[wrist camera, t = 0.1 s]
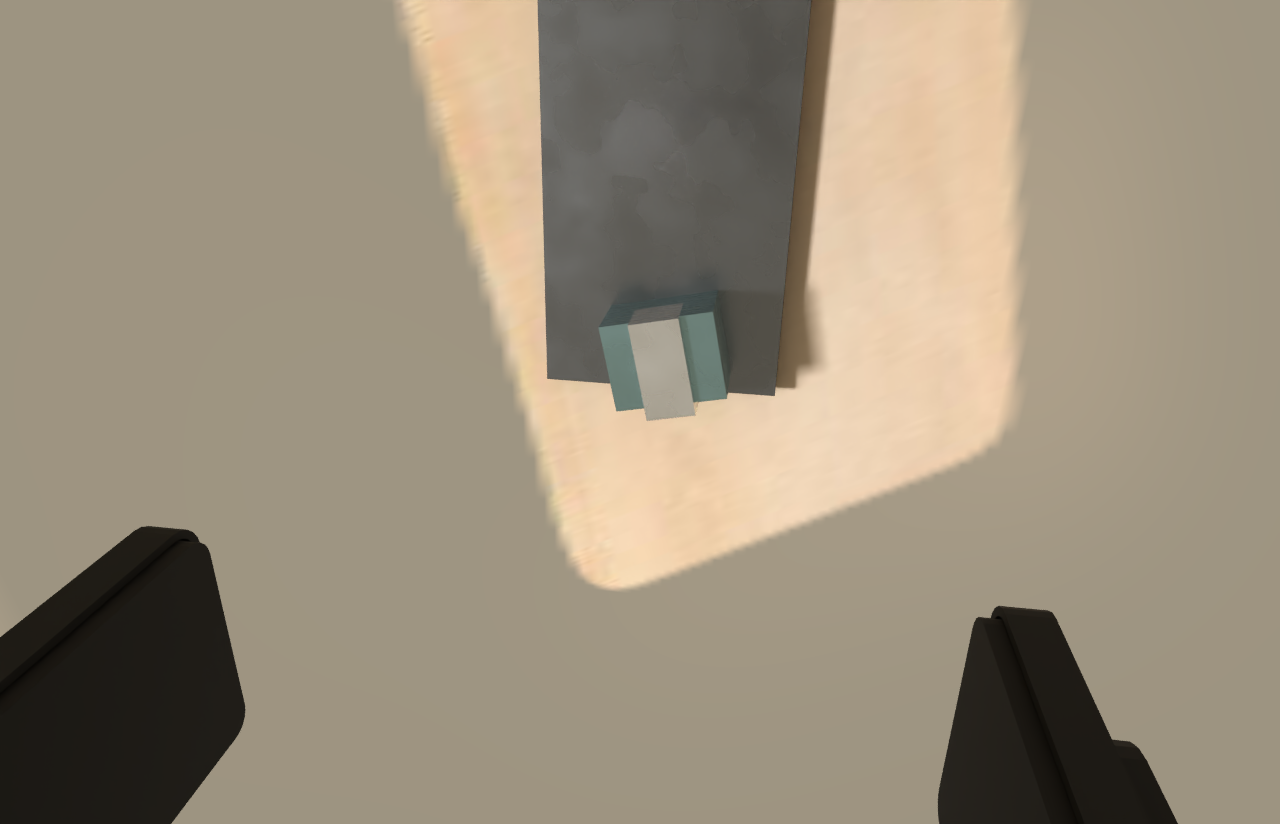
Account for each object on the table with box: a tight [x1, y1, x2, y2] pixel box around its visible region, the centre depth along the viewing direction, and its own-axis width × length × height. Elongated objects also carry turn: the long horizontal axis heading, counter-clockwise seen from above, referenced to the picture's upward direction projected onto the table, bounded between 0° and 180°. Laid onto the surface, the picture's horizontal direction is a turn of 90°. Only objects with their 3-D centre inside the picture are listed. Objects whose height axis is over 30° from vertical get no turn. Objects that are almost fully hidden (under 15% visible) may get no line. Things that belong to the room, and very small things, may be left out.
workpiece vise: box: [538, 0, 811, 421], centre depth 36 cm, size 24×11×4 cm, turn 179°
